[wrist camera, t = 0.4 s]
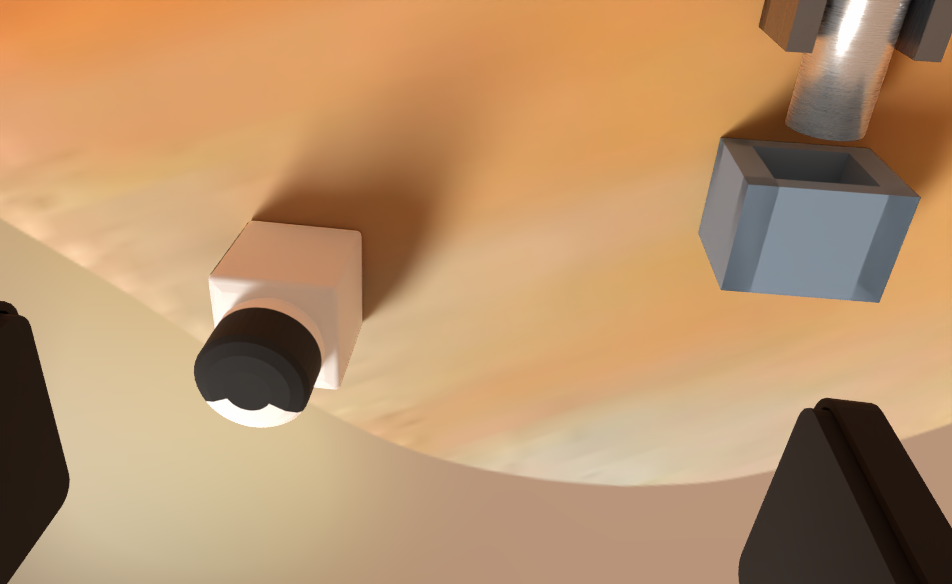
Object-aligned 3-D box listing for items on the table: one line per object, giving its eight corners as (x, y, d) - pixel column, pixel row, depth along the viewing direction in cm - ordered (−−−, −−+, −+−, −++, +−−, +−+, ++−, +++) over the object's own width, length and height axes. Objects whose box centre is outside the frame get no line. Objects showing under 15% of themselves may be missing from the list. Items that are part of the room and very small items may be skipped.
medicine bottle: (248, 218, 47) (168, 326, 37) (362, 229, 47) (314, 341, 37) (257, 313, 51) (186, 436, 40) (363, 324, 51) (319, 450, 40)
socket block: (720, 137, 42) (748, 184, 37) (870, 148, 42) (920, 197, 36) (698, 233, 45) (720, 290, 40) (837, 244, 45) (879, 302, 40)
